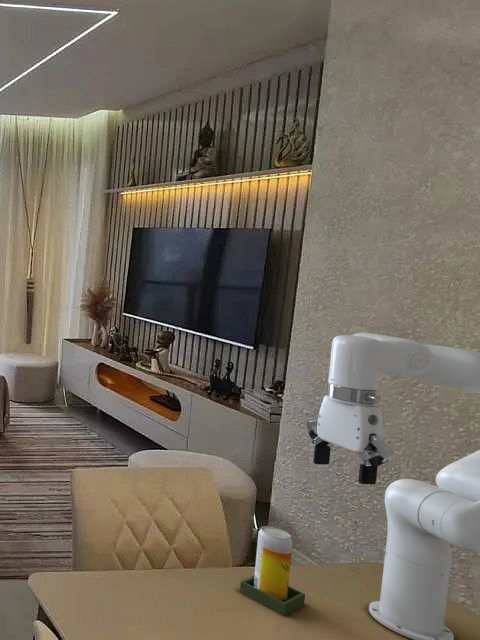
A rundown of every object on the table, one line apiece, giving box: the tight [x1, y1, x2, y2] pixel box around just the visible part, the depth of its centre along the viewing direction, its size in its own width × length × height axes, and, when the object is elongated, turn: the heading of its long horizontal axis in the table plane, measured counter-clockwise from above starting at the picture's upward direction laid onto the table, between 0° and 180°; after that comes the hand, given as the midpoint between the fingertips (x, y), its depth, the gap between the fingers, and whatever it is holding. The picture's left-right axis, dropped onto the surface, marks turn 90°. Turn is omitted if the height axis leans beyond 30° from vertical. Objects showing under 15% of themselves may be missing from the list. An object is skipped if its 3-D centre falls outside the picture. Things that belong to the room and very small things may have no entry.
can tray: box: [239, 575, 306, 616], centre depth 123 cm, size 9×9×3 cm
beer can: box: [253, 525, 294, 601], centre depth 123 cm, size 6×6×15 cm
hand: (342, 473), depth 114 cm, fingers open, 9 cm apart
